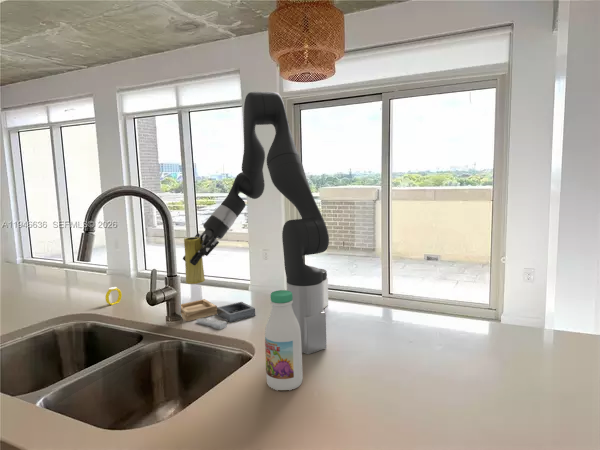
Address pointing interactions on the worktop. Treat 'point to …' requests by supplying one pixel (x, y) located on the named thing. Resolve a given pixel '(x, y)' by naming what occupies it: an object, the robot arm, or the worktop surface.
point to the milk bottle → (283, 344)
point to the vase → (192, 271)
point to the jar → (325, 288)
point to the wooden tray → (197, 309)
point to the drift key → (212, 323)
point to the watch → (109, 294)
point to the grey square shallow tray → (225, 312)
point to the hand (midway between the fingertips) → (188, 262)
